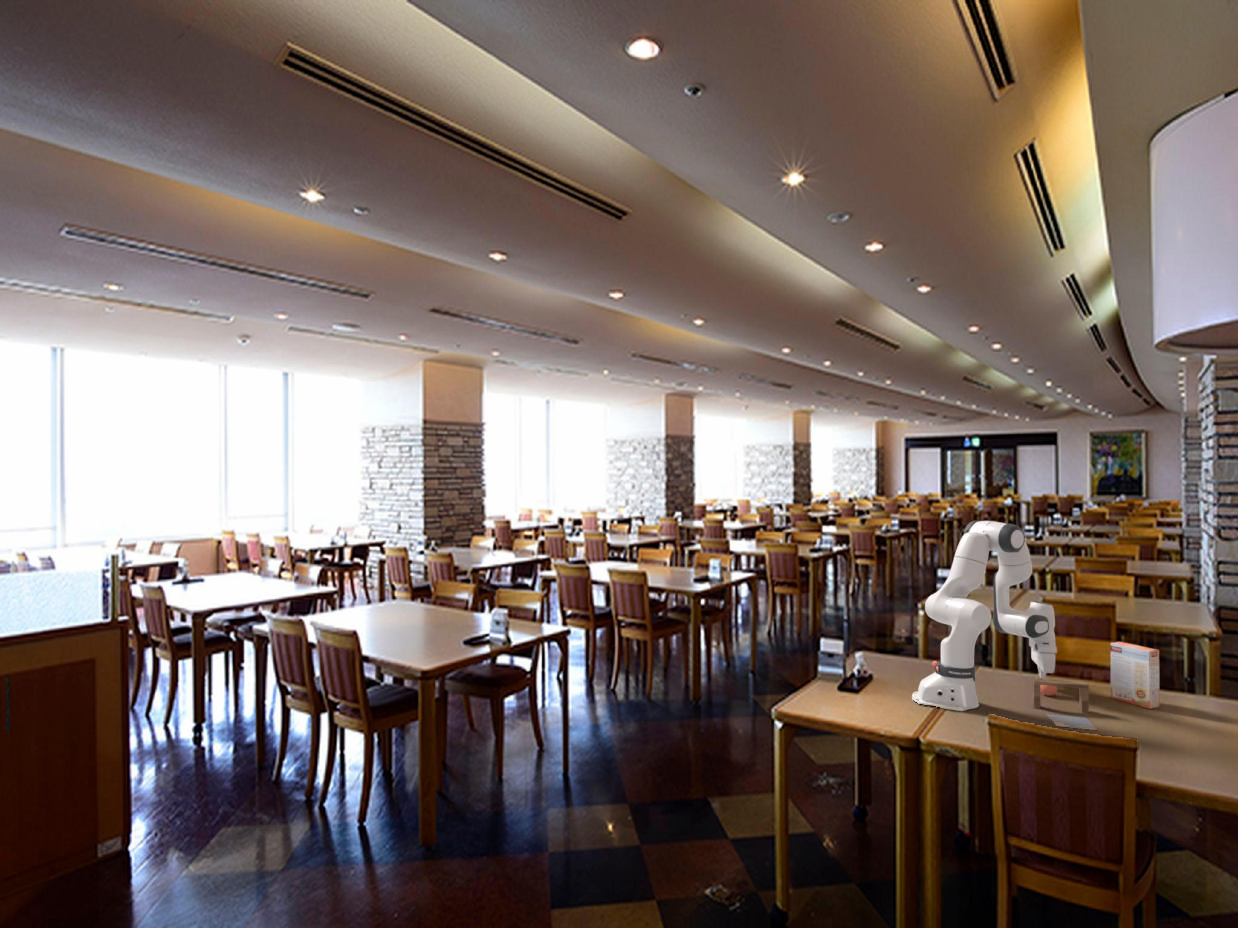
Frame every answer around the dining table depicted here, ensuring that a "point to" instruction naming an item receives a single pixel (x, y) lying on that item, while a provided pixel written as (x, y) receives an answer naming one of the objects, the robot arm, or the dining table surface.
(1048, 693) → the ball
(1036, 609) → the robot arm
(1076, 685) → the grey rectangular frame
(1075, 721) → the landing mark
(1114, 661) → the cracker box
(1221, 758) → the dining table surface
